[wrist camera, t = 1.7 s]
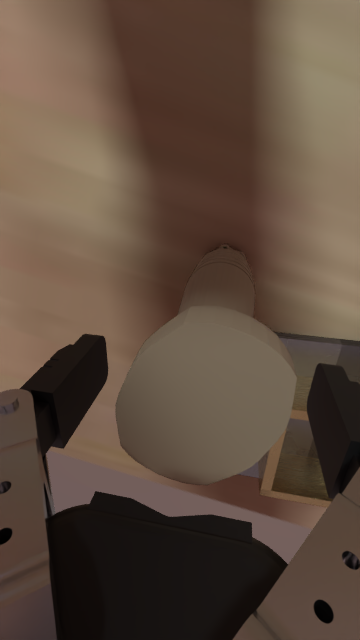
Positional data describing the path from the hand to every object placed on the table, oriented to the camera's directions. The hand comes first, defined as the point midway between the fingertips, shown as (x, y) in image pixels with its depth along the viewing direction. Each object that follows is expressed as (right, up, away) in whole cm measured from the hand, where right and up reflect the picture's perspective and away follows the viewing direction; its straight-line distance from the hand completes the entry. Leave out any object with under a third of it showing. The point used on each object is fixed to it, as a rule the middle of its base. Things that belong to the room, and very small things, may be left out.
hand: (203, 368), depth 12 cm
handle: (+2, +6, +11) cm, 12 cm away
